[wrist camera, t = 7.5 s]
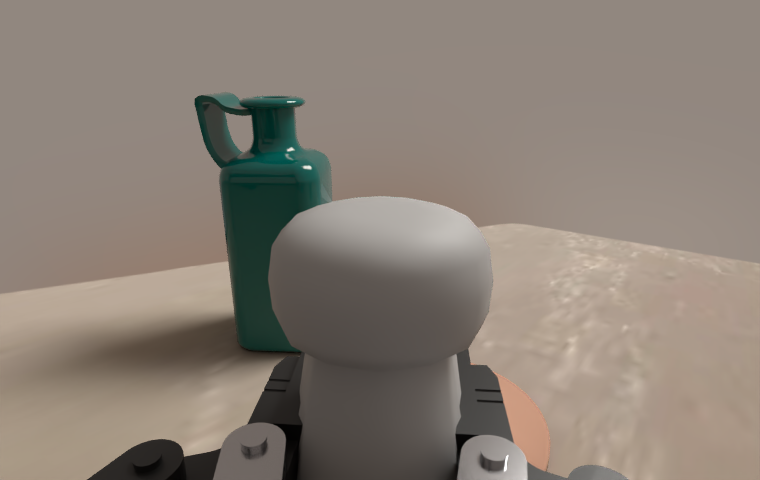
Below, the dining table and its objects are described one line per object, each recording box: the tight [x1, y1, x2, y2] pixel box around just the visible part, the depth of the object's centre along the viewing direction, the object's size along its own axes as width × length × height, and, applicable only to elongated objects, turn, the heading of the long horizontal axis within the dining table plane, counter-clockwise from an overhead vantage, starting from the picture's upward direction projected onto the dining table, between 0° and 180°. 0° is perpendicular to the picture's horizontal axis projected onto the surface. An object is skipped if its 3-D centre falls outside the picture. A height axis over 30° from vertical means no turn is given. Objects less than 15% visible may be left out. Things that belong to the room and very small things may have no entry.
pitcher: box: [195, 92, 332, 352], centre depth 45 cm, size 10×8×22 cm
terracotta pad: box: [471, 363, 550, 471], centre depth 35 cm, size 16×16×1 cm
